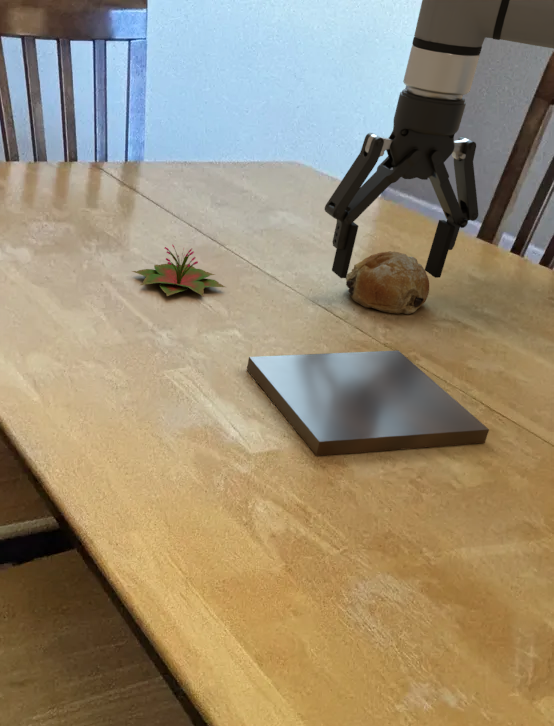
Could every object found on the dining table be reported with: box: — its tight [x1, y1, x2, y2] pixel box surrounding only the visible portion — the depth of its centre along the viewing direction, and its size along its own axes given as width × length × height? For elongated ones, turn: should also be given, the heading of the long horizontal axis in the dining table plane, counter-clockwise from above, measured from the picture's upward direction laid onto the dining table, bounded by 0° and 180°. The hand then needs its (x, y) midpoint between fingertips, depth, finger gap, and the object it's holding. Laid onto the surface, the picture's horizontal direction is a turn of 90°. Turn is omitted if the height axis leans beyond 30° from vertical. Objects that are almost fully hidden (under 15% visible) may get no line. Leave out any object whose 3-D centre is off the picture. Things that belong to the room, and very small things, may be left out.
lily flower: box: [131, 244, 226, 297], centre depth 111 cm, size 12×12×5 cm
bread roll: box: [345, 251, 430, 315], centre depth 113 cm, size 10×10×8 cm
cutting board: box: [246, 349, 490, 457], centre depth 89 cm, size 18×18×2 cm
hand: (386, 274), depth 112 cm, fingers open, 13 cm apart
